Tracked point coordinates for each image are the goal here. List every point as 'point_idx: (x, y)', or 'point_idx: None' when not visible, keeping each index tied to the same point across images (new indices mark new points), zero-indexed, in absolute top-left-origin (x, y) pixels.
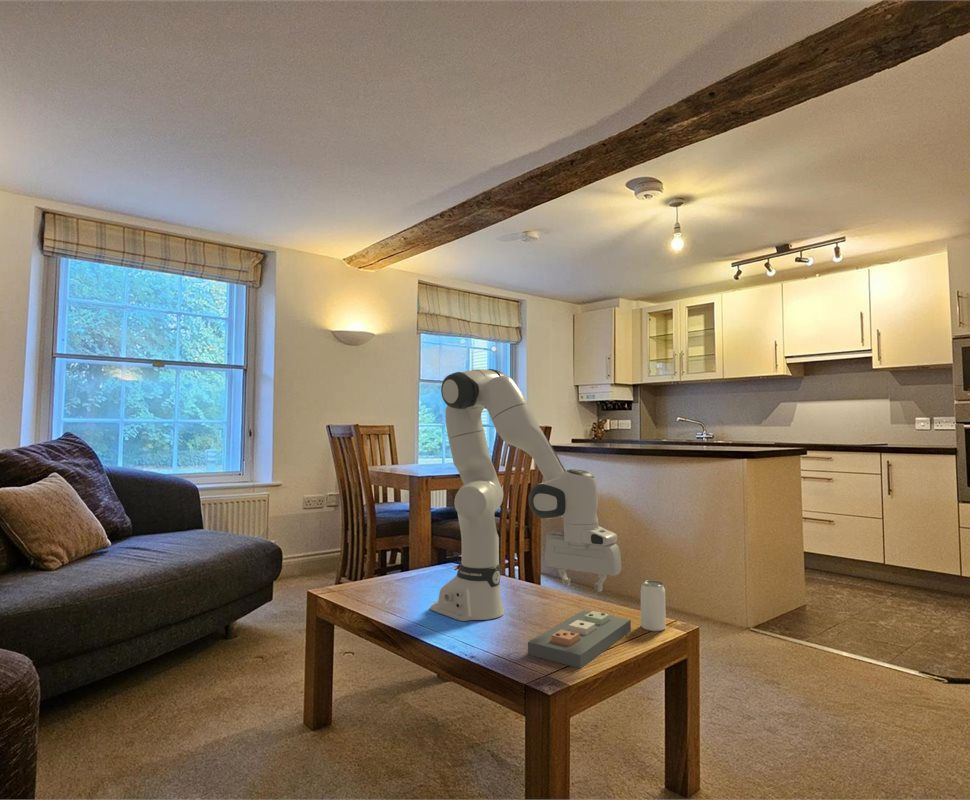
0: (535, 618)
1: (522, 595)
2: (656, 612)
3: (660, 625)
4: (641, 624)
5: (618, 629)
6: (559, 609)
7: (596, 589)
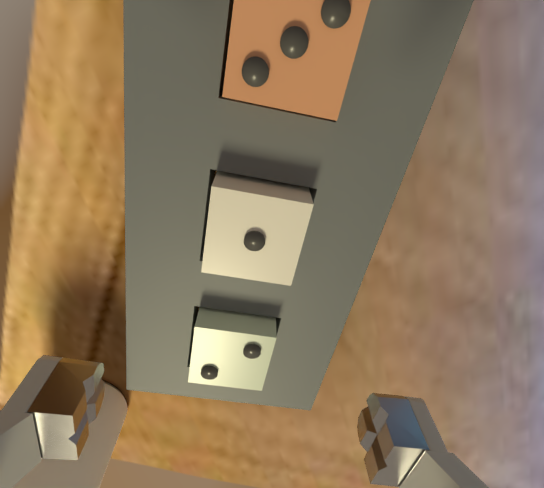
0: (469, 347)
1: (522, 477)
2: None
3: None
4: (117, 397)
5: (127, 299)
6: None
7: (70, 366)
